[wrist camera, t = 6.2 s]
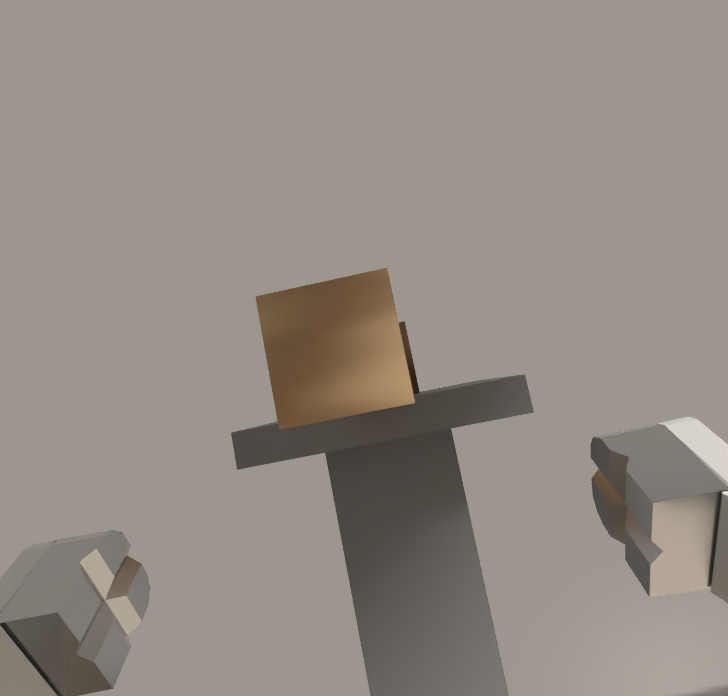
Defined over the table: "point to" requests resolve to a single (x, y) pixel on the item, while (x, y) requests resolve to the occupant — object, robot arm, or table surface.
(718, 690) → the table surface
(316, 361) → the oak shaft
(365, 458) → the charcoal stand
